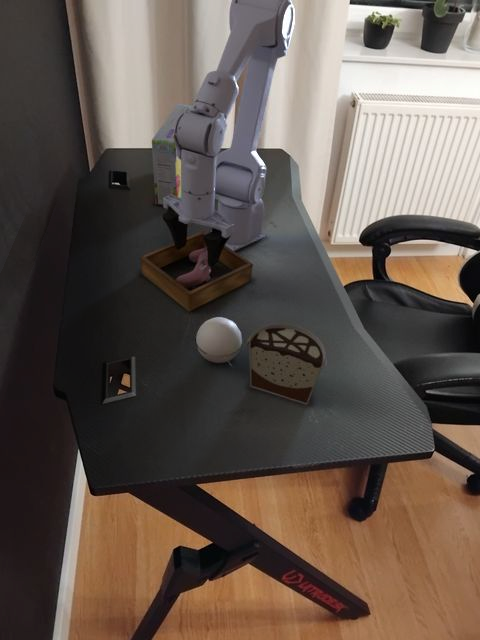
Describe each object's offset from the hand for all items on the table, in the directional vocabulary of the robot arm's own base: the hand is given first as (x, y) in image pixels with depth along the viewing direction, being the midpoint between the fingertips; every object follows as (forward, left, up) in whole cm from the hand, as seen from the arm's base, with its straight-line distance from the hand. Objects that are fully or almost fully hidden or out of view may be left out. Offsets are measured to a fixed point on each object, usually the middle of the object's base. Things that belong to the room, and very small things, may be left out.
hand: (196, 255), depth 104 cm
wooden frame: (0, 0, -5) cm, 5 cm away
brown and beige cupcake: (+7, +30, -5) cm, 31 cm away
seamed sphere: (+12, +20, -5) cm, 24 cm away
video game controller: (0, 0, -5) cm, 5 cm away
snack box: (-20, -31, -5) cm, 37 cm away
